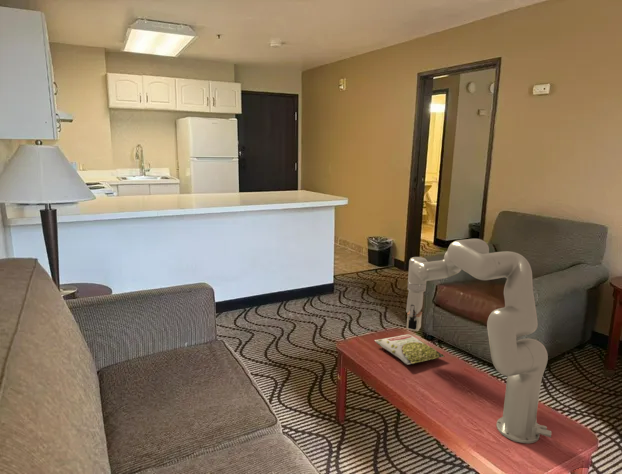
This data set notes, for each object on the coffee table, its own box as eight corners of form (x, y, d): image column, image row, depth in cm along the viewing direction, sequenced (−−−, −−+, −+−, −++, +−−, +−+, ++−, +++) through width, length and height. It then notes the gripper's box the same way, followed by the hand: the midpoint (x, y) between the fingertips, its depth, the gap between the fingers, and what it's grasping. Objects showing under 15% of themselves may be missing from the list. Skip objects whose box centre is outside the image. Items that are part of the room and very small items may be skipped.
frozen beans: (408, 358, 173) (373, 334, 195) (406, 371, 174) (372, 346, 196) (446, 350, 182) (408, 328, 204) (444, 362, 183) (407, 339, 205)
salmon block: (421, 327, 184) (422, 311, 183) (418, 331, 179) (419, 315, 178) (409, 324, 186) (410, 309, 185) (406, 328, 182) (407, 313, 180)
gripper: (413, 279, 188) (410, 318, 192) (402, 290, 173) (399, 331, 177) (430, 282, 185) (427, 321, 188) (420, 293, 170) (417, 335, 174)
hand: (413, 325), depth 183 cm, fingers closed on salmon block, 5 cm apart
